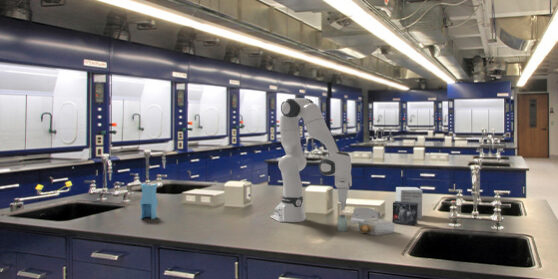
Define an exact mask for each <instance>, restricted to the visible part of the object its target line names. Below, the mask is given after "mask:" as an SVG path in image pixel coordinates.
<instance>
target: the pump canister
mask: <svg viewBox="0 0 558 279" xmlns="http://www.w3.org/2000/svg"><path fill="white" fill-rule="evenodd" d="M337 231H338V232H347V231H348V217H347V216H346V215H345V214H340V215H339V216H338V217H337Z"/></svg>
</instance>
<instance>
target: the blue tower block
mask: <svg viewBox="0 0 558 279" xmlns="http://www.w3.org/2000/svg"><path fill="white" fill-rule="evenodd" d="M140 186H141V187H140V188H141V198H140V201H139V205H140V218H139V219H140V220H142V219H144V218H146V217H148V218H150V217H151V220H154V219H156V218H158V215H157V208H158V203H159V202H158V201H159V200H158V197H157V187H158V183H154V184H147V183H142V184H140Z"/></svg>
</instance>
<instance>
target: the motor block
mask: <svg viewBox="0 0 558 279" xmlns="http://www.w3.org/2000/svg"><path fill="white" fill-rule="evenodd" d="M358 231H359V232H360V233H362V234H367V235H371V236H374V237H376V236H382V235H386V234H387V235H388V234H393V233H395V223H393V222H392V221H389V220H387V219H382V218H380V219H379V218H373V219H366V220H364V221H360V222H359V224H358Z"/></svg>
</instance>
